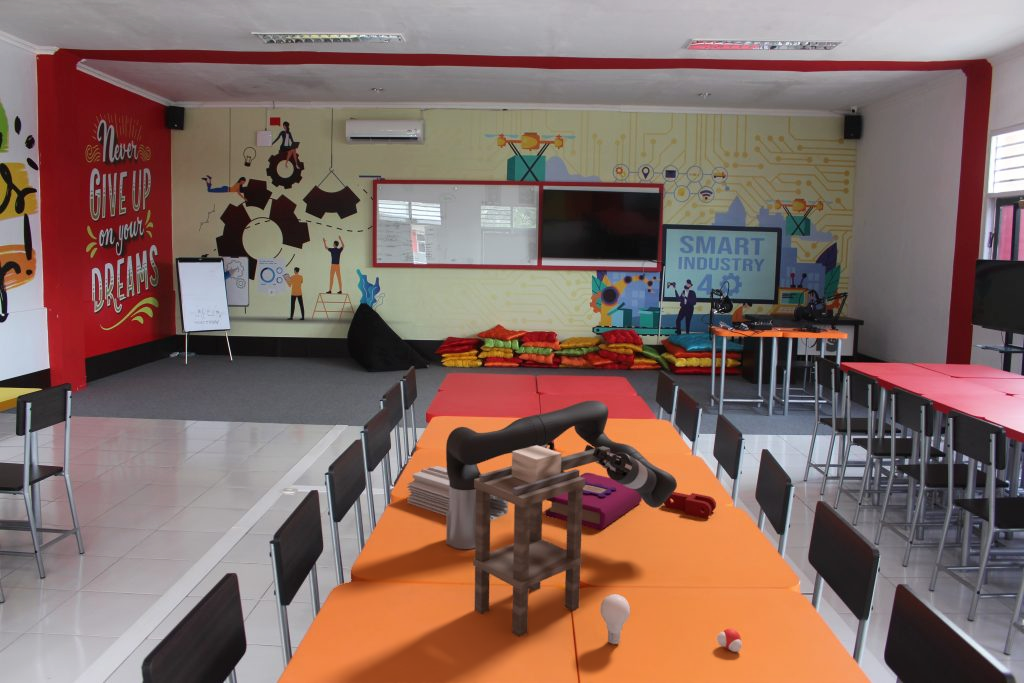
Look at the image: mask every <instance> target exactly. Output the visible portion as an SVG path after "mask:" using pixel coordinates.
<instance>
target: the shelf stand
mask: <svg viewBox="0 0 1024 683" xmlns="http://www.w3.org/2000/svg"><path fill="white" fill-rule="evenodd" d="M580 473H581V472H580V470H579V469H576V468H574V469H572V470H571V469H570V470H569V471H565V470H564V471H561V474H558V475H555V476H551V477H548V478H545V479H541V480H538V481H535V482H531V483H528V482H525V481H523V480H520V479H517V478H515V477H512V465H511V466H507V467H504V468H500V469H496V470H493V471H490V472H486V473H481V475H479V478H477V479H474V488H476V528H475V548H474V549H475V550H474V552H475V553H474V558H472V559H473V563H472V565H473V566H474V611H475V612H476V613H478V614H480V615H482V614H484V613H487V612H489V611H490V575H491V576H493V577H494V578H497V579H499V580H501V581H503V582H505V583H506V584H508V585H510V586H511V587H512V618H511V619H512V622H511V632H512V634H514V635H515V636H518V637H519V638H520V637H523V636H524V635H526V634H528V624H529V623H528V621H529V620H528V618H529V616H528V615H529V590H531V591H532V592H534V591H537V590H539V589H541V582H542V581H545V580H547V579H549V578H551V577H553V576H556V575H559V574H561V573H563V572H565V581H564V582H565V583H564V591H565V592H564V608H565V609H567V610H569V611H571V612H574V611H577V609H579V608H580V585H581V583H580V582H581V565H582V564H583V557H582V554H581V553H582V532H583V531H582V528H583V527H582V502H583V487H585V478H582V477H579V476H580ZM565 493H568V513H567V521H566V547H565V548H566V549H565V548H563V547H560V546H559V545H556V544H554V543H552V542H549V541H547V540H545V539H543V536H542V533H543V502H544V501H547V499H550V498H553V497H556V496H559V495H562V494H565ZM491 495H493V496H495V497H498V498H500V499H503V500H505V501H508V503H510V504H512V505H514V513H513V515H514V516H513V517H514V521H513V543H511V544H508V545H506V546H504V547H503V546H502V547H501V548H498V549H495V550H493V551H491V521H490V505H491Z"/></svg>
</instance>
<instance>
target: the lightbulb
mask: <svg viewBox="0 0 1024 683" xmlns="http://www.w3.org/2000/svg"><path fill="white" fill-rule="evenodd" d="M600 615H601V618H602V619H603V620H604V622H605V625H606V630H607V642H608V643H610V644H612V645H618V644H619V643H621V632H622V631H623V627H624V624H625V623H626V622H627V621H628V620H629V617H630V615H631V607H630V604H629V602H628V600H627V599H626V598H625V597H624V596H623V595H620V594H618V593H617V594H615V593H614V594H612V593H611V594H610V595H607V596H606V597H605V598H603V600H602V602H601V604H600Z"/></svg>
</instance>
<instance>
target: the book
mask: <svg viewBox="0 0 1024 683" xmlns="http://www.w3.org/2000/svg"><path fill="white" fill-rule="evenodd" d="M579 477H582V478H585V487H583V502H582V526H583V527H587V528H591V529H594V530H597V531H602V530H603V529H605V528H606V527H607V526H609V525H610V524H612V523H613V522H614V521H616V520H617V519H619V518H620V517H622V516H623V515H625V513H627V512H629V511H630V510H632V509H633V508H634V507H636V506H637V505H639V504H640V503H641V502H642V501H643V499H642V498H641V496H640V494H639V493H638V492H637V491H635V490H633V489H631V488H628V487H626V486H624V485H622V484H620V483H618V482H616V481H615V480H613V479H611V478H610V477H609V476H608V477H607V476H605V475H599V474H596V473H592V472H584V473H582V474H581V475H580V474H579ZM546 501H547V502H548V501H549V502H551V507H549V508H548V509H546V510H545V511H544V516H545V515H546V516H545V517H547V516H549V518H551V517H553V518H552V519H556V518H557V519H556V520H560V521H563V522H567V513H568V493H565V494H562V495H559V496H556V497H553V498H550V499H547V500H546Z"/></svg>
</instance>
